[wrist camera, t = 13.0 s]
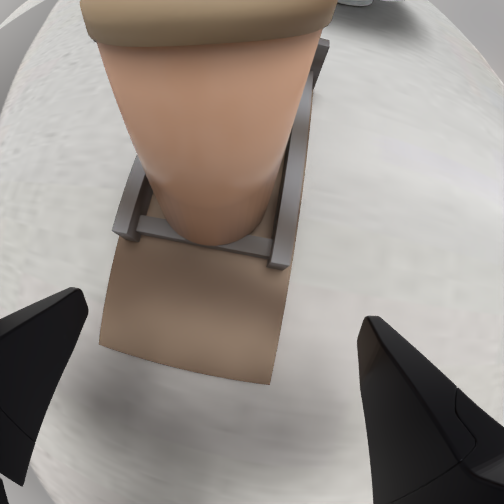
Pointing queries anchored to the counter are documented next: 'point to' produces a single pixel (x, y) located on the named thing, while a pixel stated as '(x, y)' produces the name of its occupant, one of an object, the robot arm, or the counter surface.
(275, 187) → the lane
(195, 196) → the jar
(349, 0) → the bowl
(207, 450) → the counter surface
